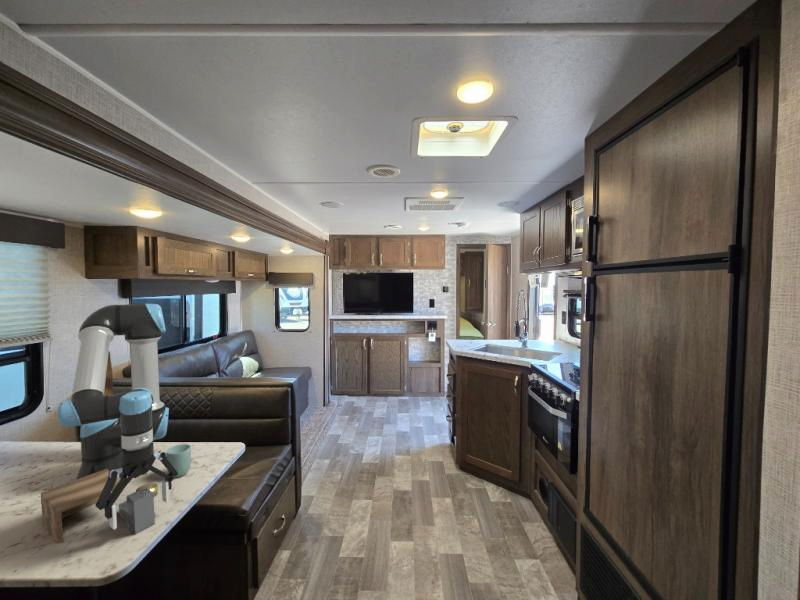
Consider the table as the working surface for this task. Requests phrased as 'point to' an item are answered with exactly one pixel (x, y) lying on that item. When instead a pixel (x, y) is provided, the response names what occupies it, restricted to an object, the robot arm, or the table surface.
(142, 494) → the grey toy mallet
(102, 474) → the brown piece
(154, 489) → the gold metal dome
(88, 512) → the table surface
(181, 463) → the cup
